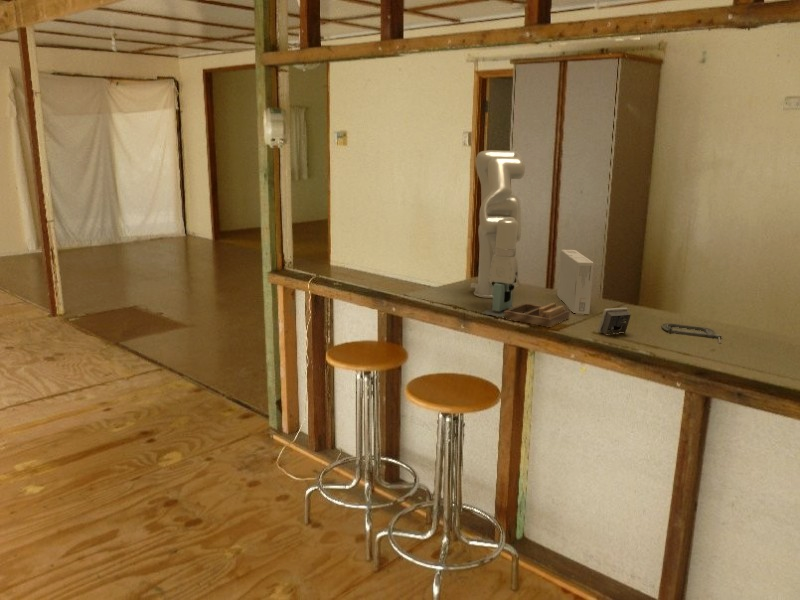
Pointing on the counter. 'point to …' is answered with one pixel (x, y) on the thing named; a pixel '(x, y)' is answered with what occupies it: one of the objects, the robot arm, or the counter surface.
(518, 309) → the brown divided tray
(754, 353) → the counter surface
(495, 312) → the mat
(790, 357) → the counter surface
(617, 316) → the electrical switch
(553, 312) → the offcuts
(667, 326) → the c clamp
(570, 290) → the packaging
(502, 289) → the teal square block
